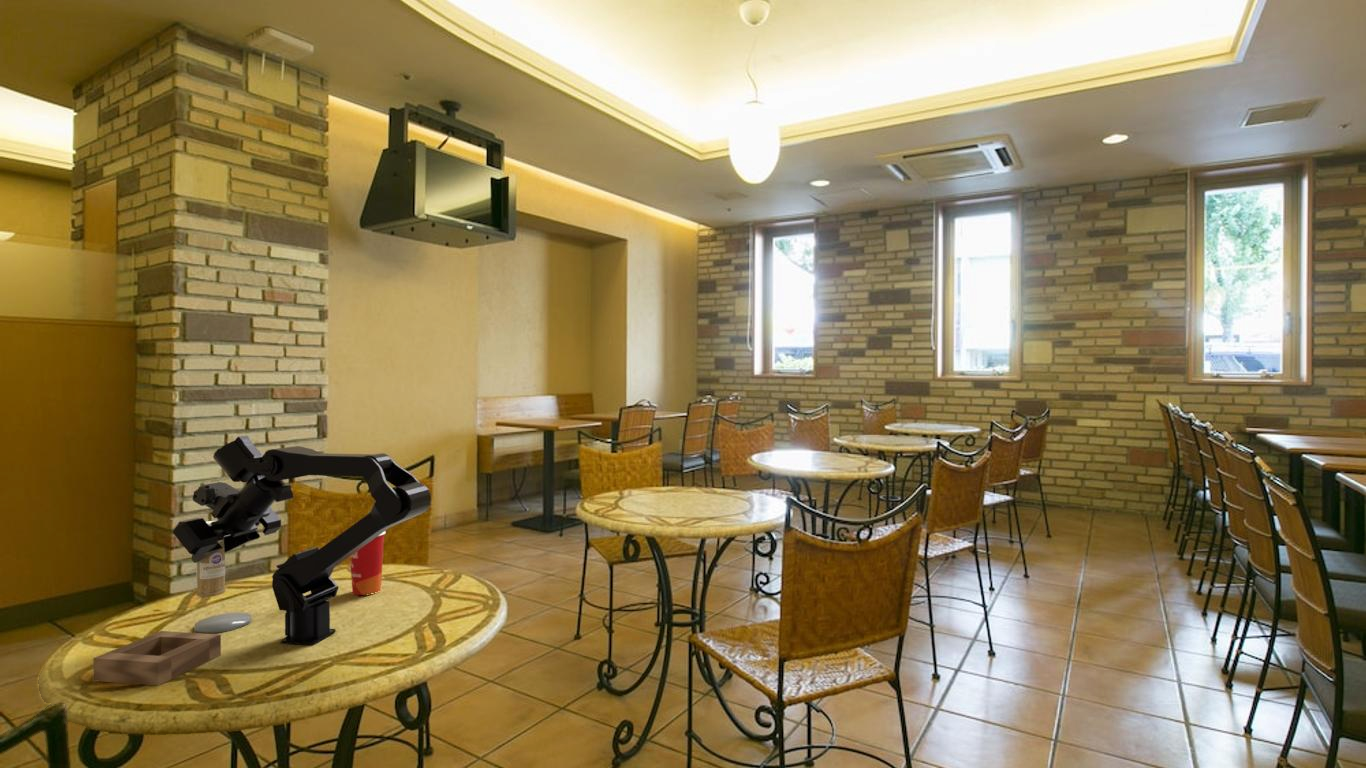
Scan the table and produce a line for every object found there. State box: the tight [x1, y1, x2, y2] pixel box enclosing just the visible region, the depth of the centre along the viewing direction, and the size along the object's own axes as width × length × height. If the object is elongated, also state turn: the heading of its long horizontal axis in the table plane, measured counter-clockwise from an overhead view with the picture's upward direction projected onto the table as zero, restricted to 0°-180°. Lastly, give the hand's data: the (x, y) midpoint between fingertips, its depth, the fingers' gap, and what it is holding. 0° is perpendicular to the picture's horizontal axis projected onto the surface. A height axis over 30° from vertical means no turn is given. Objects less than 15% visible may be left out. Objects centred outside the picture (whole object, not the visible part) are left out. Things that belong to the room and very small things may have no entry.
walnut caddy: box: [92, 630, 222, 687], centre depth 110 cm, size 12×12×4 cm
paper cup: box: [349, 531, 387, 596], centre depth 149 cm, size 8×8×14 cm
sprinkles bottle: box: [195, 520, 226, 598], centre depth 126 cm, size 5×5×13 cm
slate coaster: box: [193, 611, 252, 634], centre depth 129 cm, size 9×9×1 cm
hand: (204, 557), depth 127 cm, fingers closed on sprinkles bottle, 4 cm apart
